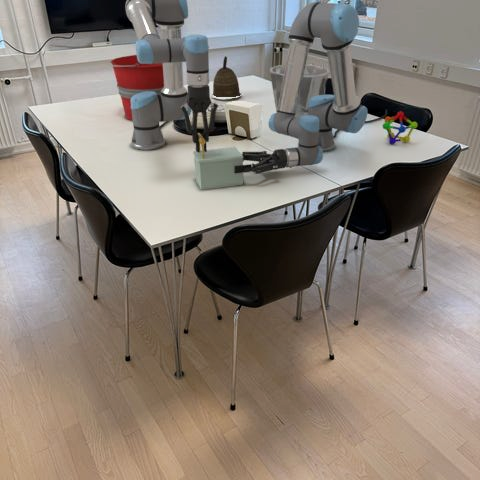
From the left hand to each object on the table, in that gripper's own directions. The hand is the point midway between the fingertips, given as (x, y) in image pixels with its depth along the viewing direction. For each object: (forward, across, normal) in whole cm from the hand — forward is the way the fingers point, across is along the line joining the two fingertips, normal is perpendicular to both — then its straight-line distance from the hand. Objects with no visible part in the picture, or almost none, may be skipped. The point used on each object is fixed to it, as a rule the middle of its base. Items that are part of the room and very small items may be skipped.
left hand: (201, 150), depth 163 cm
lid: (+3, +6, 0) cm, 7 cm away
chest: (+13, +6, 0) cm, 15 cm away
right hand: (+7, +11, 0) cm, 13 cm away
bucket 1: (+13, -8, +98) cm, 99 cm away
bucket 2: (+13, +64, +58) cm, 87 cm away
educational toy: (+13, +99, +19) cm, 101 cm away
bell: (+13, +44, +123) cm, 132 cm away
